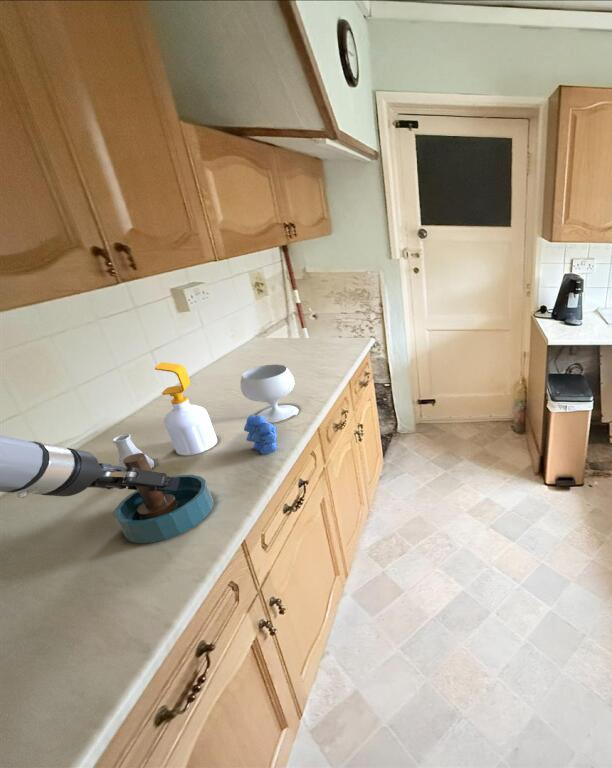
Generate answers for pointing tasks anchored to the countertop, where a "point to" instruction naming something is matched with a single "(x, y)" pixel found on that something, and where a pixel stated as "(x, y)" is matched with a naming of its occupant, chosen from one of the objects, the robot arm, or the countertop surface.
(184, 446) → the soap bottle
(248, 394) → the chalice
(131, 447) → the flask
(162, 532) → the bowl
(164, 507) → the dish brush
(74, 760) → the countertop surface
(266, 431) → the grapes
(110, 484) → the robot arm
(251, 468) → the countertop surface
